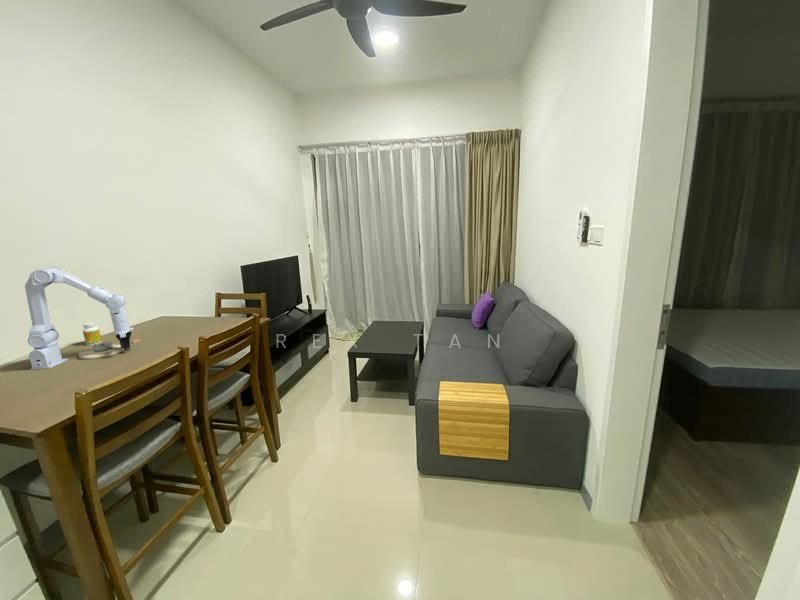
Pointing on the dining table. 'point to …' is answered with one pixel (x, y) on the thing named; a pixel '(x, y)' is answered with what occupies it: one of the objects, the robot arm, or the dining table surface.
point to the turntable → (91, 354)
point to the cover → (102, 347)
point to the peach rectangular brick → (135, 340)
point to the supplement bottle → (91, 333)
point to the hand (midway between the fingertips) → (126, 347)
